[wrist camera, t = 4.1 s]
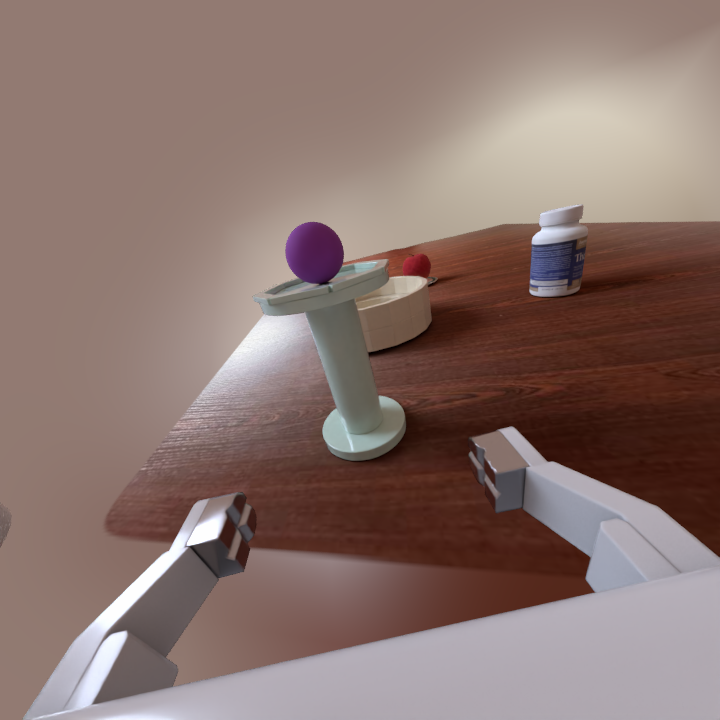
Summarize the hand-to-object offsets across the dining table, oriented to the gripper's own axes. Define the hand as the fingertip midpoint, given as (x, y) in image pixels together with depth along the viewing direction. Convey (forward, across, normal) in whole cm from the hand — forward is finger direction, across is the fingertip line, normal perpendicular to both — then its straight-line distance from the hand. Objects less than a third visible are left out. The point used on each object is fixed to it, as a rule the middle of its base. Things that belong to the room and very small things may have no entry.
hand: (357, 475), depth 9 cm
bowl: (+28, -3, +5) cm, 29 cm away
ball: (+8, 0, -7) cm, 11 cm away
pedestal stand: (+8, 0, +5) cm, 10 cm away
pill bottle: (+26, -28, +5) cm, 38 cm away
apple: (+50, -16, +5) cm, 52 cm away
